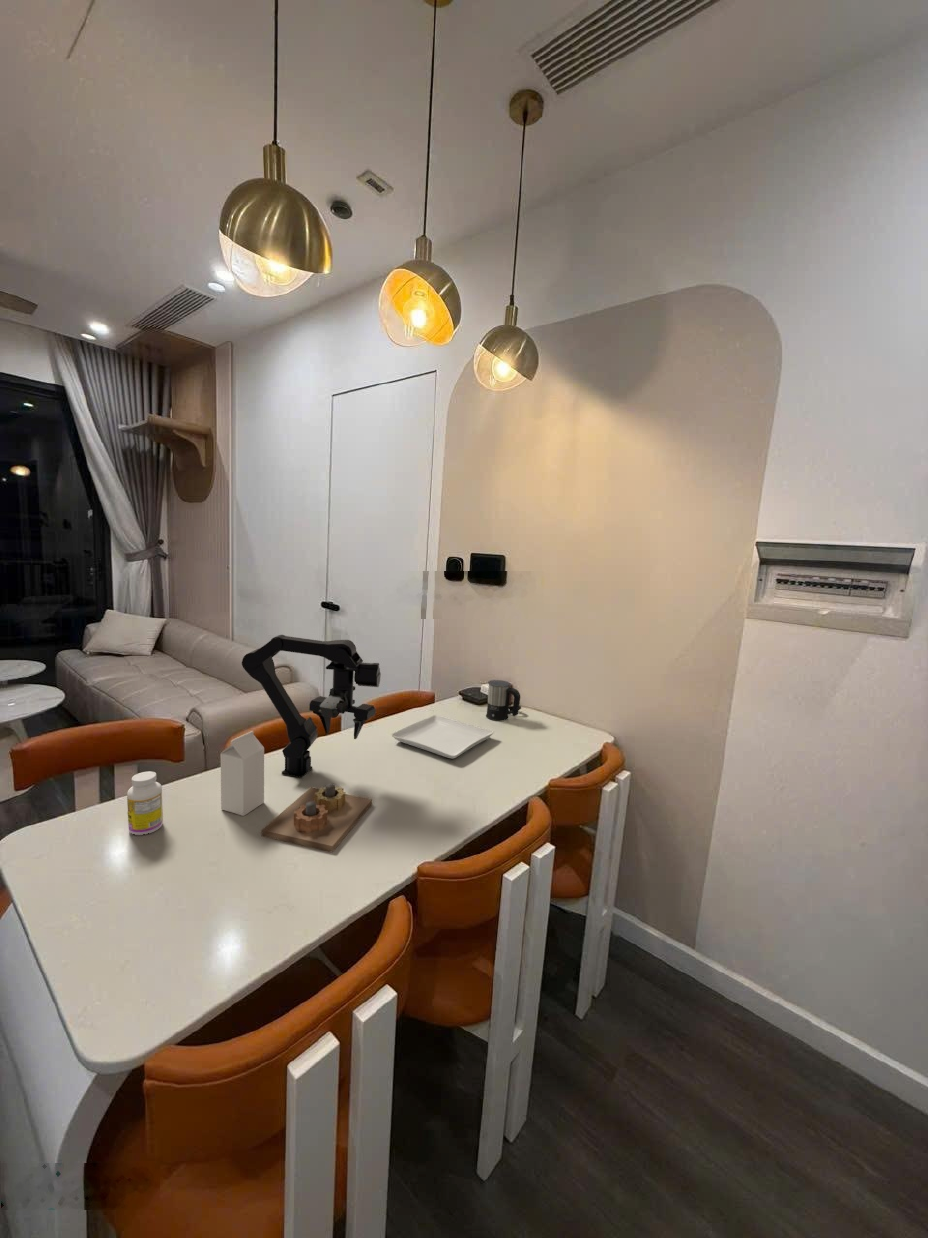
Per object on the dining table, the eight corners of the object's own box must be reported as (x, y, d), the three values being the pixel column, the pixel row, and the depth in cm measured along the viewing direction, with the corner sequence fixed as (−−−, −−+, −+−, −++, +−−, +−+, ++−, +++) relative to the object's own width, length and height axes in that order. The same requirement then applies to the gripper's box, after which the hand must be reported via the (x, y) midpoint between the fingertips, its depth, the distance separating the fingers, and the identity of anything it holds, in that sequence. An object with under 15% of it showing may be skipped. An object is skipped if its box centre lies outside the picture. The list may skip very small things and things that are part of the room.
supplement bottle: (132, 822, 112) (130, 770, 110) (165, 818, 115) (164, 767, 113) (125, 839, 106) (122, 784, 104) (159, 834, 109) (158, 781, 107)
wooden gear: (309, 808, 120) (309, 797, 119) (324, 794, 127) (324, 783, 127) (336, 814, 118) (336, 803, 118) (350, 799, 125) (350, 789, 125)
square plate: (494, 740, 175) (495, 730, 174) (453, 767, 152) (454, 755, 151) (434, 722, 189) (435, 712, 188) (388, 743, 166) (389, 733, 165)
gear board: (261, 835, 110) (261, 809, 109) (311, 792, 131) (311, 769, 130) (332, 852, 106) (333, 825, 105) (372, 804, 127) (373, 781, 126)
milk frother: (484, 719, 194) (486, 684, 192) (488, 707, 210) (491, 674, 207) (519, 724, 192) (522, 688, 190) (521, 711, 207) (524, 678, 205)
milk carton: (264, 803, 124) (264, 733, 121) (243, 817, 117) (243, 743, 114) (242, 796, 126) (242, 728, 123) (220, 810, 120) (219, 737, 117)
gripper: (297, 687, 132) (296, 740, 134) (358, 697, 127) (356, 752, 129) (320, 677, 143) (319, 727, 145) (377, 686, 138) (375, 737, 140)
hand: (341, 736), depth 140 cm, fingers open, 9 cm apart
